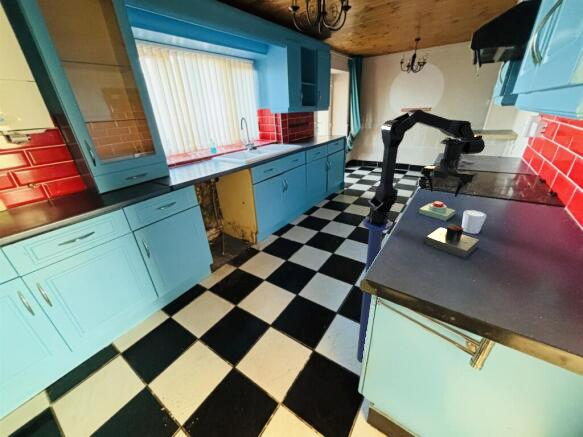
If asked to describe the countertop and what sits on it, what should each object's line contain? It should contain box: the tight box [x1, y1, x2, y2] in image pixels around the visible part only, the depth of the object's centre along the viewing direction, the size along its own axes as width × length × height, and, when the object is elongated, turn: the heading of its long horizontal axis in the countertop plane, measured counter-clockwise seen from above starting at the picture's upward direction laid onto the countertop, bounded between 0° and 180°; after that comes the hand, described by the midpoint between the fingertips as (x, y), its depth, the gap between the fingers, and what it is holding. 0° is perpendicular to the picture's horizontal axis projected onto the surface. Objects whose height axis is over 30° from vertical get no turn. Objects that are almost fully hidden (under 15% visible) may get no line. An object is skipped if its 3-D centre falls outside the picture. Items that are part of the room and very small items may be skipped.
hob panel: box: [425, 227, 480, 259], centre depth 80 cm, size 12×10×3 cm
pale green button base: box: [418, 202, 456, 222], centre depth 103 cm, size 11×9×4 cm
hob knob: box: [445, 224, 464, 241], centre depth 79 cm, size 4×4×4 cm
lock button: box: [433, 200, 445, 208], centre depth 102 cm, size 4×4×2 cm
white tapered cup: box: [461, 209, 487, 234], centre depth 88 cm, size 7×7×7 cm
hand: (443, 193), depth 97 cm, fingers open, 9 cm apart
